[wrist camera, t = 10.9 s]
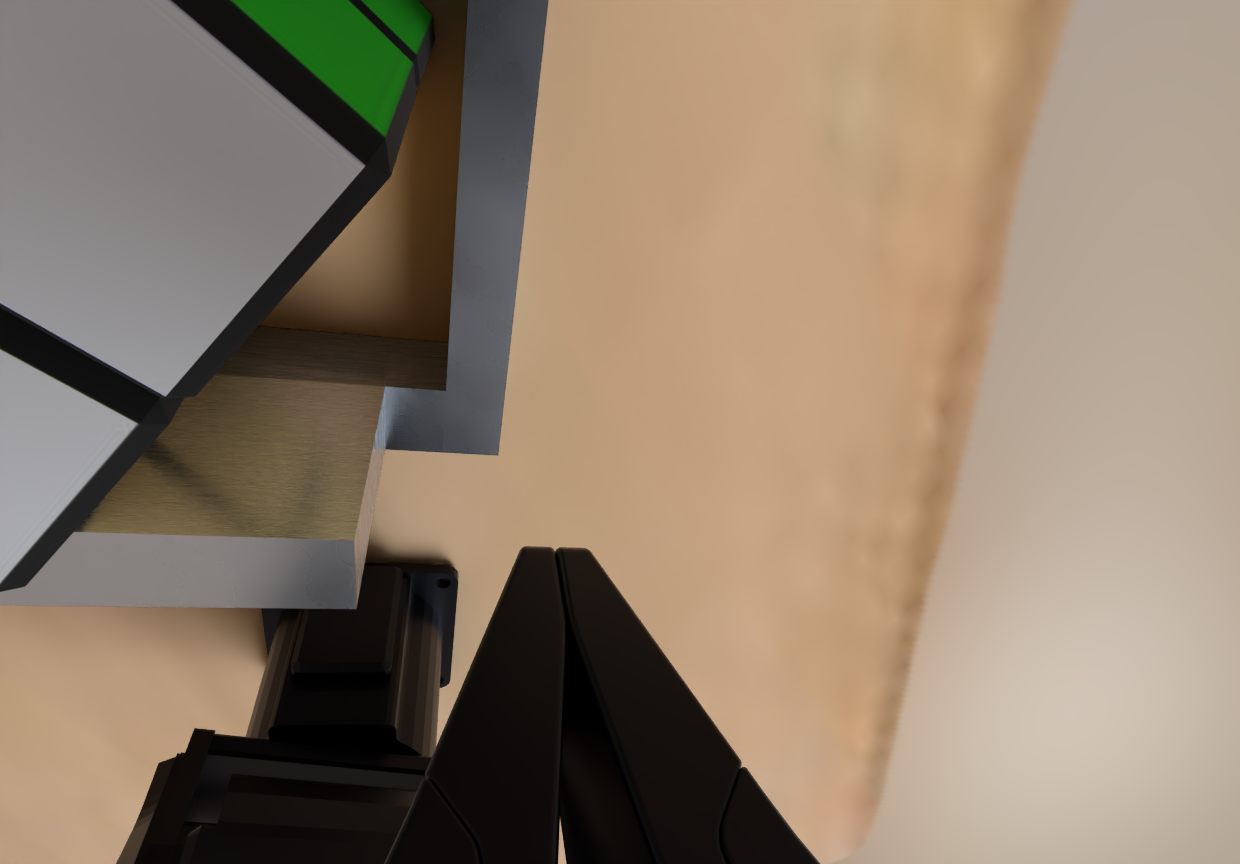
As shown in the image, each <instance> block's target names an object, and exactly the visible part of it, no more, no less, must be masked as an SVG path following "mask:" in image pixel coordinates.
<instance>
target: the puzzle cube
mask: <svg viewBox="0 0 1240 864" xmlns="http://www.w3.org/2000/svg"><path fill="white" fill-rule="evenodd" d="M434 41H435V33H434V22H433V16H432V15H431V14H430V13H429V11H428V10H427V9H426V8H425V7H424V6H423V5H422V4H421V3H420V2H419V1H418V0H0V592H2V591H7V590H12V589H17V588H21V587H25V586H26V585H27V584H28V583H29V582H30V581H31V580H32V579H33V577H34V576H35V575H36V574H37V573H38V572H39V571H40V570H41V568H42V567H43V566H44V565H45V564H46V563H47V562H48V560H49V559H50V558H51V557H52V556H53V555H54V554H55V553H56V551H57V550H58V549H59V548H60V547H61V546H62V545H63V544H64V542H65V541H66V540H67V539H68V538H69V537H70V536H71V535H72V533H73V532H74V531H75V530H76V529H77V528H78V527H79V525H80V524H81V523H82V522H83V521H84V520H85V519H86V518H87V516H88V515H89V514H90V513H91V512H92V511H93V510H94V509H95V507H96V506H97V505H98V504H99V503H100V502H101V501H102V500H103V498H104V497H105V496H106V495H107V494H108V493H109V492H110V490H111V489H112V488H113V487H114V486H115V485H116V484H117V483H118V481H119V480H120V479H121V478H122V477H123V476H124V475H125V474H126V472H127V471H128V470H129V469H130V468H131V467H132V466H133V465H134V463H135V462H136V461H137V460H138V459H139V458H140V457H141V455H142V454H143V453H144V452H145V451H146V450H147V449H148V448H149V446H150V445H151V444H152V443H153V442H154V441H155V440H156V439H157V437H158V436H159V435H160V434H161V433H162V432H163V431H164V430H165V428H166V427H167V426H168V425H169V424H170V422H171V421H172V419H173V417H174V415H175V414H176V412H177V410H178V408H179V407H180V405H181V403H182V402H183V400H184V398H185V397H196V395H197V394H198V393H199V392H200V391H201V390H202V389H203V387H204V386H205V385H206V384H207V383H208V382H209V381H210V380H211V378H212V377H213V376H214V375H215V374H216V373H217V372H218V371H219V369H220V368H221V367H222V366H223V365H224V364H225V363H226V362H227V360H228V359H229V358H230V357H231V356H232V355H233V354H234V353H235V351H236V350H237V349H238V348H239V347H240V346H241V345H242V344H243V342H244V341H245V340H246V339H247V338H248V337H249V336H250V334H251V333H252V332H253V331H254V330H255V329H256V328H257V327H258V325H259V324H260V323H261V322H262V321H263V320H264V319H265V318H266V316H267V315H268V314H269V313H270V312H271V311H272V310H273V309H274V307H275V306H276V305H277V304H278V303H279V302H280V301H281V300H282V298H283V297H284V296H285V295H286V294H287V293H288V292H289V291H290V289H291V288H292V287H293V286H294V285H295V284H296V283H297V281H298V280H299V279H300V278H301V277H302V276H303V275H304V274H305V272H306V271H307V270H308V269H309V268H310V267H311V266H312V265H313V263H314V262H315V261H316V260H317V259H318V258H319V257H320V256H321V254H322V253H323V252H324V251H325V250H326V249H327V248H328V247H329V245H330V244H331V243H332V242H333V241H334V240H335V239H336V238H337V236H338V235H339V234H340V233H341V232H342V231H343V230H344V229H345V227H346V226H347V225H348V224H349V223H350V222H351V221H352V219H353V218H354V217H355V216H356V215H357V214H358V213H359V212H360V210H361V209H362V208H363V207H364V206H365V205H366V204H367V203H368V201H369V200H370V199H371V198H372V197H373V196H374V195H375V194H376V192H377V191H378V190H379V189H380V188H381V187H382V186H383V185H384V183H385V182H386V181H387V180H388V179H389V178H390V177H391V174H392V171H393V168H394V164H395V161H396V158H397V155H398V151H399V148H400V145H401V142H402V138H403V135H404V132H405V129H406V125H407V122H408V119H409V116H410V112H411V109H412V106H413V103H414V99H415V96H416V93H417V91H416V88H417V87H418V86H419V84H420V82H421V79H422V76H423V73H424V71H425V68H426V65H427V62H428V59H429V56H430V53H431V50H432V47H433V44H434Z"/></svg>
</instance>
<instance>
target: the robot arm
mask: <svg viewBox="0 0 1240 864" xmlns="http://www.w3.org/2000/svg"><path fill="white" fill-rule="evenodd" d="M442 578H445V579H446V580H441V579H442ZM457 590H458V571H457V570H456V569H455V568H454V567H452V566H448V565H429V564H387V563H365V564H364V569H363V575H362V580H361V586H360V591H359V597H358V603H357V608H356V609H298V608H261V609H262V617H263V624H264V631H265V638H266V645H267V653H268V660H267V663H266V667H265V670H264V674H263V677H262V681H261V684H260V688H259V691H258V695H257V699H256V702H255V706H254V709H253V713H252V716H251V720H250V723H249V727H248V730H247V734H246V737H240V736H231V735H221V734H215V730H207V729H197V728H195V729H194V731H193V734H192V737H191V739H190V742H189V744H188V747H187V750H186V752H185V753H181V754H178V753H177V756H176V757H174V758H171V759H169V760H166V761H163V762H160V763H159V764H158V766H157V769H156V772H155V775H154V777H153V780H152V783H151V785H150V788H149V791H148V793H147V796H146V799H145V801H144V804H143V807H142V809H141V812H140V814H139V817H138V819H137V822H136V824H135V826H134V828H133V830H132V832H131V834H130V837H129V839H128V841H127V843H126V845H125V847H124V849H123V851H122V853H121V855H120V857H119V859H118V861H117V863H116V864H558V848H559V823H560V819H561V826H562V834H563V841H564V848H565V856H566V863H567V864H820V863H819V862H818V861H817V859H816V858H815V857H814V856H813V855H812V853H811V852H810V851H809V850H808V849H807V847H806V846H805V845H804V844H803V843H802V841H801V840H800V839H799V838H798V837H797V835H796V834H795V833H794V832H793V830H792V829H791V828H790V826H789V825H788V824H787V822H786V821H785V820H784V818H783V817H782V816H781V814H780V813H779V812H778V810H777V809H776V808H775V806H774V805H773V804H772V802H771V801H770V800H769V799H768V797H767V796H766V795H765V793H764V792H763V790H762V789H761V788H760V786H759V785H758V783H757V782H756V781H755V779H754V778H753V776H752V775H751V774H750V772H749V771H748V769H747V768H746V767H742V768H741V764H742V762H741V760H740V759H739V757H738V756H737V754H736V753H735V752H734V750H733V749H732V748H731V746H730V745H729V743H728V742H727V741H726V739H725V738H724V736H723V735H722V734H721V732H720V731H719V729H718V728H717V727H716V725H715V724H714V722H713V721H712V720H711V718H710V717H709V716H708V714H707V713H706V711H705V710H704V709H703V707H702V706H701V704H700V703H699V702H698V700H697V699H696V697H695V696H694V695H693V693H692V692H691V690H690V689H689V688H688V686H687V685H686V684H685V682H684V681H683V679H682V678H681V677H680V675H679V674H678V672H677V671H676V670H675V668H674V667H673V665H672V664H671V663H670V661H669V660H668V658H667V657H666V656H665V654H664V653H663V652H662V650H661V649H660V647H659V646H658V645H657V643H656V642H655V640H654V639H653V638H652V636H651V635H650V633H649V632H648V631H647V629H646V628H645V626H644V625H643V624H642V622H641V621H640V620H639V618H638V617H637V615H636V614H635V613H634V611H633V610H632V608H631V607H630V606H629V604H628V603H627V601H626V600H625V599H624V597H623V596H622V594H621V593H620V592H619V590H618V589H617V588H616V586H615V585H614V583H613V582H612V581H611V579H610V578H609V576H608V575H607V574H606V572H605V571H604V569H603V568H602V567H601V565H600V564H599V562H598V561H597V560H596V558H595V557H594V556H593V554H592V553H591V552H590V551H589V550H588V549H586V548H566V547H561V548H558V549H557V550H556V551H554V549H553V548H551V547H531V546H526V547H523V548H522V549H521V550H520V552H519V554H518V556H517V559H516V561H515V563H514V566H513V568H512V570H511V573H510V575H509V577H508V580H507V582H506V584H505V587H504V589H503V591H502V594H501V596H500V599H499V601H498V603H497V606H496V608H495V610H494V613H493V615H492V617H491V620H490V622H489V624H488V627H487V629H486V631H485V634H484V636H483V638H482V641H481V643H480V646H479V648H478V650H477V653H476V655H475V657H474V660H473V662H472V664H471V667H470V669H469V671H468V674H467V676H466V678H465V681H464V683H463V685H462V688H461V690H460V692H459V695H458V697H457V700H456V702H455V704H454V707H453V709H452V711H451V714H450V716H449V718H448V721H447V723H446V725H445V728H444V730H443V732H442V735H441V737H440V739H439V742H438V744H437V746H436V738H437V722H438V705H439V689H440V688H442V687H444V686H446V685H448V684H449V682H450V676H451V663H452V651H453V639H454V627H455V614H456V602H457ZM740 768H741V769H740Z"/></svg>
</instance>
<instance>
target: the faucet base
mask: <svg viewBox="0 0 1240 864" xmlns="http://www.w3.org/2000/svg"><path fill="white" fill-rule="evenodd" d="M547 8H548V0H468V10H467V28H466V46H465V63H464V81H463V99H462V116H461V134H460V152H459V170H458V187H457V205H456V223H455V241H454V258H453V276H452V294H451V311H450V329H449V343H446V342H435V341H423V340H412V339H400V338H389V337H377V336H366V335H355V334H343V333H332V332H320V331H309V330H297V329H286V328H274V327H263V326H258V327H257V328H256V329H255V330H254V331H253V332H252V333H251V334H250V336H249V337H248V338H247V339H246V340H245V341H244V342H243V344H242V345H241V346H240V347H239V348H238V349H237V350H236V351H235V353H234V354H233V355H232V356H231V357H230V358H229V359H228V360H227V362H226V363H225V364H224V365H223V366H222V367H221V368H220V369H219V371H218V372H217V373H216V374H215V375H214V376H213V377H212V378H211V380H210V381H209V382H208V383H207V384H206V385H205V386H204V387H203V389H202V390H201V391H200V392H199V393H198V394H197V395H196V397H185V398H184V400H183V402H182V403H181V405H180V407H179V408H178V410H177V412H176V414H175V415H174V417H173V419H172V421H171V422H170V424H169V425H168V426H167V427H166V428H165V430H164V431H163V432H162V433H161V434H160V435H159V436H158V437H157V439H156V440H155V441H154V442H153V443H152V444H151V445H150V446H149V448H148V449H147V450H146V451H145V452H144V453H143V454H142V455H141V457H140V458H139V459H138V460H137V461H136V462H135V463H134V465H133V466H132V467H131V468H130V469H129V470H128V471H127V472H126V474H125V475H124V476H123V477H122V478H121V479H120V480H119V481H118V483H117V484H116V485H115V486H114V487H113V488H112V489H111V490H110V492H109V493H108V494H107V495H106V496H105V497H104V498H103V500H102V501H101V502H100V503H99V504H98V505H97V506H96V507H95V509H94V510H93V511H92V512H91V513H90V514H89V515H88V516H87V518H86V519H85V520H84V521H83V522H82V523H81V524H80V525H79V527H78V528H77V529H76V530H75V531H74V532H73V533H72V535H71V536H70V537H69V538H68V539H67V540H66V541H65V542H64V544H63V545H62V546H61V547H60V548H59V549H58V550H57V551H56V553H55V554H54V555H53V556H52V557H51V558H50V559H49V560H48V562H47V563H46V564H45V565H44V566H43V567H42V568H41V570H40V571H39V572H38V573H37V574H36V575H35V576H34V577H33V579H32V580H31V581H30V582H29V583H28V584H27V585H26V586H25V587H21V588H17V589H12V590H7V591H2V592H0V605H25V606H116V607H207V608H298V609H356V608H357V603H358V597H359V591H360V586H361V580H362V575H363V569H364V564H365V558H366V553H367V547H368V542H369V536H370V530H371V525H372V519H373V514H374V508H375V503H376V497H377V492H378V486H379V481H380V475H381V470H382V464H383V458H384V453H385V449H391V450H409V451H427V452H445V453H463V454H481V455H498V452H499V443H500V434H501V425H502V416H503V407H504V398H505V389H506V379H507V370H508V361H509V352H510V343H511V334H512V325H513V316H514V307H515V298H516V289H517V280H518V271H519V262H520V252H521V243H522V234H523V225H524V216H525V207H526V198H527V189H528V180H529V171H530V162H531V153H532V144H533V135H534V125H535V116H536V107H537V98H538V89H539V80H540V71H541V62H542V53H543V44H544V35H545V26H546V17H547Z"/></svg>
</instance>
